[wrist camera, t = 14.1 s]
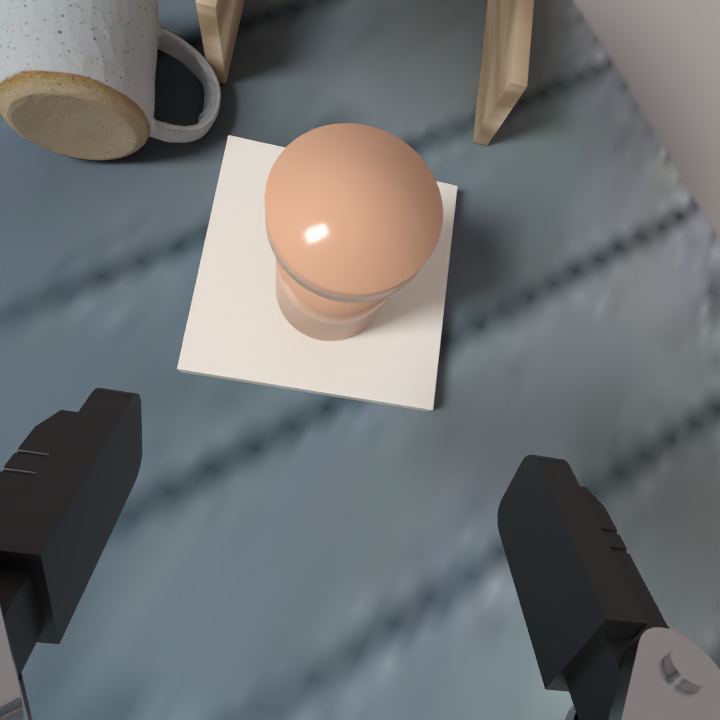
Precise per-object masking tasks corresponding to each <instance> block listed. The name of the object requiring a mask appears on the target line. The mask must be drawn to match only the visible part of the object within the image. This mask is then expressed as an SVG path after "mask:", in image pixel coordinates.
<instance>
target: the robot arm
mask: <svg viewBox="0 0 720 720" xmlns="http://www.w3.org/2000/svg"><path fill="white" fill-rule="evenodd" d="M141 458H142V422H141V399H140V396H139V394H136V393H130V392H123V391H117V390H110V389H104V388H96V389H95V390H94V391H93V392H92V393H91V395H90V396H89V397H88V399H87V400H86V402H85V403H84V405H83V406H82V407H81V409H80V410H79V412H72V411H65V410H60V411H59V412H57V413H56V414H54V415H53V416H51V417H49V418H48V419H46V420H45V421H43V422H42V423H40V424H39V425H37V426H35V427H34V429H33V430H32V431H31V433H30V434H29V435H28V436H27V438H26V439H25V440H24V442H23V443H22V444H21V445H20V447H19V448H18V452H17V453H14V454H13V456H12V457H11V458H10V460H9V461H8V462H7V463H6V465H5V466H4V470H3V472H0V720H34V719H33V715H32V711H31V706H30V702H29V698H28V694H27V690H26V686H25V681H24V677H23V673H22V670H23V668H24V666H25V664H26V662H27V660H28V658H29V656H30V654H31V652H32V650H33V648H34V646H35V644H36V642H41V643H53V644H60V641H61V639H62V637H63V635H64V633H65V631H66V629H67V626H68V624H69V622H70V620H71V618H72V616H73V614H74V611H75V609H76V607H77V605H78V603H79V601H80V599H81V596H82V594H83V592H84V590H85V588H86V586H87V584H88V582H89V579H90V577H91V575H92V573H93V571H94V569H95V567H96V564H97V562H98V560H99V558H100V556H101V554H102V552H103V549H104V547H105V545H106V543H107V541H108V539H109V537H110V534H111V532H112V530H113V528H114V526H115V524H116V522H117V519H118V517H119V515H120V513H121V511H122V509H123V507H124V505H125V502H126V500H127V498H128V496H129V494H130V492H131V490H132V487H133V485H134V483H135V481H136V478H137V475H138V472H139V468H140V464H141ZM498 529H499V533H500V536H501V540H502V543H503V547H504V550H505V554H506V557H507V560H508V564H509V567H510V571H511V574H512V577H513V581H514V584H515V588H516V591H517V594H518V598H519V601H520V605H521V608H522V611H523V615H524V618H525V622H526V625H527V628H528V632H529V635H530V639H531V642H532V645H533V649H534V652H535V656H536V659H537V663H538V666H539V669H540V673H541V676H542V680H543V683H544V686H545V689H547V690H558V691H569V692H570V695H571V698H572V701H573V704H574V705H573V706H572V707H571V709H570V710H569V711H568V713H567V716H566V719H565V720H720V670H719V668H718V667H717V665H716V664H715V663H714V661H713V660H712V659H711V658H710V657H709V656H708V655H707V654H706V653H705V651H704V650H702V649H701V648H700V647H699V646H698V645H697V644H696V643H694V642H693V641H691V640H690V639H689V638H687V637H685V636H684V635H682V634H680V633H678V632H676V631H673V630H670V629H669V628H668V626H667V624H666V622H665V620H664V619H663V617H662V615H661V613H660V611H659V609H658V607H657V605H656V603H655V601H654V600H653V598H652V596H651V594H650V592H649V590H648V588H647V586H646V584H645V582H644V581H643V579H642V577H641V575H640V573H639V571H638V569H637V567H636V565H635V564H634V562H633V560H632V558H631V556H630V554H627V552H626V550H627V548H626V546H625V545H624V543H623V541H622V539H621V537H620V535H617V529H616V527H615V526H614V524H613V522H612V520H611V518H610V516H609V514H608V512H607V510H606V508H605V507H604V506H603V505H602V504H601V503H600V502H599V501H598V500H597V499H596V498H595V496H594V495H593V494H592V493H591V492H590V491H589V490H588V489H587V488H586V487H580V485H579V483H578V481H577V479H576V477H575V475H574V473H573V471H572V469H571V467H570V465H569V464H568V463H567V462H566V461H565V460H563V459H556V458H550V457H543V456H537V455H528V456H526V457H525V458H524V459H523V461H522V463H521V465H520V466H519V468H518V470H517V472H516V474H515V476H514V478H513V479H512V481H511V483H510V485H509V487H508V489H507V491H506V492H505V494H504V496H503V498H502V500H501V502H500V505H499V509H498Z"/></svg>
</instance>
